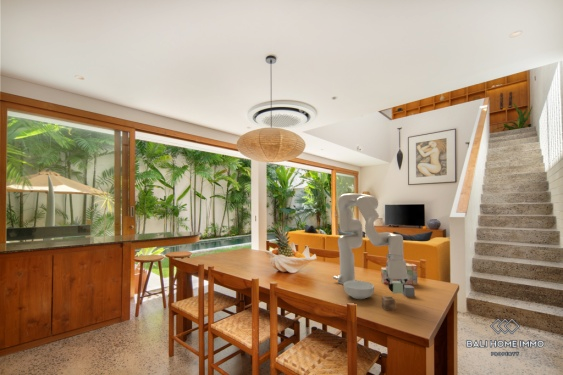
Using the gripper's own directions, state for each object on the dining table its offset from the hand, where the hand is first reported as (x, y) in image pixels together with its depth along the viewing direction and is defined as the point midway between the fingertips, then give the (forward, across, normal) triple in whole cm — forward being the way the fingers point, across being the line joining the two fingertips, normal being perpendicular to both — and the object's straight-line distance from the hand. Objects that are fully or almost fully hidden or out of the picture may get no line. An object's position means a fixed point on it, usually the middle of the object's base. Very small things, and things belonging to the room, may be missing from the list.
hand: (396, 290), depth 145 cm
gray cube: (+6, +10, +10) cm, 15 cm away
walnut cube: (+6, -8, -10) cm, 14 cm away
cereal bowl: (+6, -19, +6) cm, 21 cm away
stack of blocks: (+7, +14, +33) cm, 36 cm away
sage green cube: (+1, 0, 0) cm, 1 cm away
